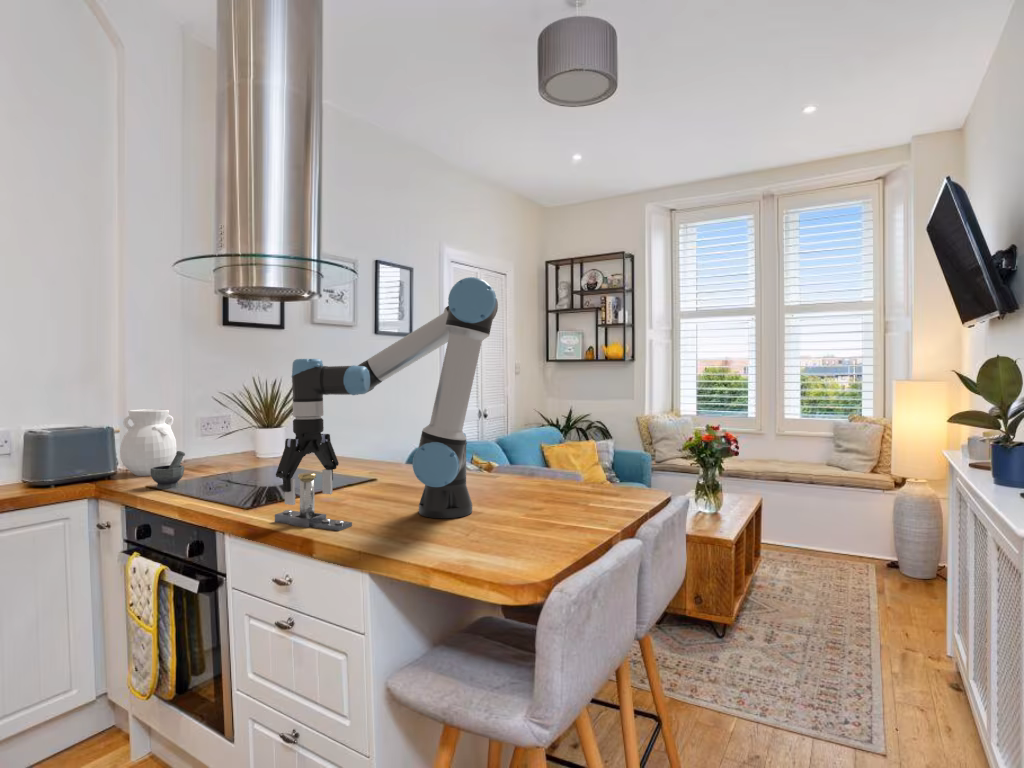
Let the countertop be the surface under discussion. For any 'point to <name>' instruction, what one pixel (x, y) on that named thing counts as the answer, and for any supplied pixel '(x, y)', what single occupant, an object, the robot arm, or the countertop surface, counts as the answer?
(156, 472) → the mortar and pestle
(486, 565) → the countertop surface
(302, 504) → the pin
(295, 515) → the grey mounting bracket
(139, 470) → the white handled vase
